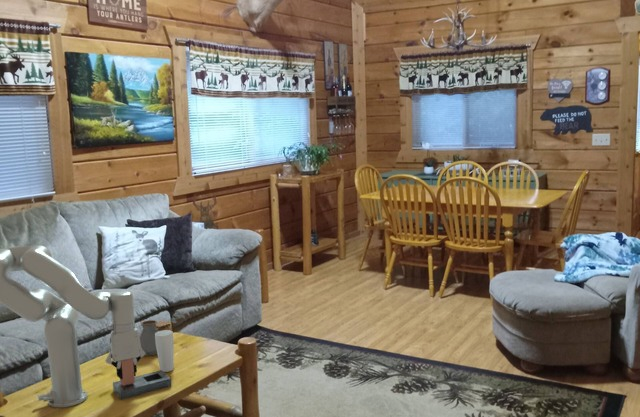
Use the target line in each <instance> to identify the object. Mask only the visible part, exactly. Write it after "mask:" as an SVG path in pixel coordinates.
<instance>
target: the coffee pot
mask: <svg viewBox="0 0 640 417" xmlns="http://www.w3.org/2000/svg"><path fill="white" fill-rule="evenodd" d="M157 323H158V321H157V320H152V319H151V320H150V319H149V320H145V321H142V322H140V325H141V327H142V330H141V333H140V335H139V337H140V343H141V348H142V349H143V351H144V352H145V353H146V354H145V355H144V356H153V355H157V349H156V343H155V333H156V332H159V331H162V330H163V329H164V330H165V329H166V328H167V330H170V328H169V327H170V326H172V324H171V323H167V324H164V325H162V326H161V325H160V326H159V327H158V328H157Z"/></svg>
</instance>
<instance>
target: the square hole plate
mask: <svg viewBox="0 0 640 417" xmlns="http://www.w3.org/2000/svg"><path fill="white" fill-rule="evenodd" d="M134 378H135V383H131V384H127V385H123V384H122V383H121V382H120V380H118V381H113V382H112V389H113V392H114V393H115V394H116V395H117V397H118V398H119V399H120V400H121V401H122V400H127V399H130V398H134V397H138V396H141V395H144V394H147V393H148V394H149V393H152V392H155V391H159V390H162V389H166V388H170V387H172V379H171V377H170V376H169V375H167V373H166V372H163V371H162V370H160V369H159V370H156V371H152V372H149V373H144V374H142V375H136V376H134Z"/></svg>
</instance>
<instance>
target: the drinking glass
mask: <svg viewBox="0 0 640 417" xmlns="http://www.w3.org/2000/svg"><path fill="white" fill-rule="evenodd" d="M174 341H175V340H174V332H173V331H172V330H171V329H164V330H163V329H162V330H158V332H156V333H155V343H156V349H157V354H156V355H157V359H158V367H159V371H160V370H162V371H163V372H164V373H169V372H172V371H173V370H174V369H175V366H174V364H175V363H174V360H175V359H174V350H175V347H174V344H175V343H174Z"/></svg>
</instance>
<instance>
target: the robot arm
mask: <svg viewBox="0 0 640 417" xmlns="http://www.w3.org/2000/svg"><path fill="white" fill-rule="evenodd" d="M19 271H20V272H21V271H24V272H25V273H27V274H28V275H29V276H31V277H33V278H35V279H36V280H38V281H39V282H40V283H41V284H44V285H45V286H47V287H48V288H49V289H51V290H53V291H54V292H56V293H57V294H58V296H59V297H58V296H57V295H55V293H53V292H51V291H49V290H47V289H45V288H41V287H40V288H33V289H29V288H28V287H26V286H24V285H23V284H22V283H20V282H18V281H16V280H13V279H12V278H10V277H9V276H8V274H9V273H11V272H19ZM0 304H1V305H3V306H4V307H5V308H7V309H9V310H10V311H12V312H13V313H15V314H16V315H18V316H20V317H21V318H22V319H24V320H25V321H28V322H31V323H36V322H39V321H41V320H42V321H44V322H45V325H44V337H45V341H46V346H47V355H48V362H49V372H50V380H51V382H50V383H51V388H50V389H49V390H50V391H47V393H44V394H43V393H42V394H39V395H37V399H38V402H41V401H43V402H48V405H49V406H51V407H53V408H56V409H57V408H58V409H59V408H60V409H61V408H69V407H73V406H76V405H79V404H81V403H83V402H84V401H85V400H87V398H88V392H87V391H86V390H84V389H83V386H82V385H83V384H82V377H81V376H82V375H81V366H80V364H81V363H80V357H79V356H80V355H79V348H78V347H79V346H78V340H77V335H76V328H77V325H78V324H79V320H80V319H79V318H80V316H79V315H80V314H82V315H83V316H84V317H86V318H89V319H90V320H93V321H94V320H95V321H99V320H102V319H104V318H106V316H108V314H109V312H111V324H110V326H108V328H107V329H108V330H109V331H110V337H109V352H108V355H107V357H106V359H105V361H104V362H105V363H107V364H109V365H111V366H113V367H115V368H116V376H117V378H119V380H120V379H123V377H122V368H121V361H123V360H128V359H132V358H133V364H134V377H136V376H137V372H138V369H137V368H138V367H137V365H138V363H139V361H141V359H142V358H143V357H144V356H146V355H145V354H146V353H145V352H144V351H143V349H142V348H141V343H140V334H139V330H138V328H137V327H136V326H135V308H134V305H135V304H134V295H133V293H132V292H131V291H127V290H122V291H121V290H120V291H117V292H116V291H114V292H111V291H98V292H97V291H96V292H94V293H91V292H90V291H89V290H88V289H86V288H85V287H84V286H83V285H82V284H81V283H80V281H79V280H78V278H77V276H76V274H75V273H74V272H73V271H72V270H71V269H70V268H68V267H67V266H65V265H64V264H62V263H60V262H59V261H58V260H56V259H55V258H53V257H52V253H51V251H50V250H49V249H48V248H47V247H46V246H45V245H41V244H40V245H39V244H36V245H24V246H17V247H16V246H14V247H5V248H4V247H3V248H0ZM79 313H80V314H79Z"/></svg>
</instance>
